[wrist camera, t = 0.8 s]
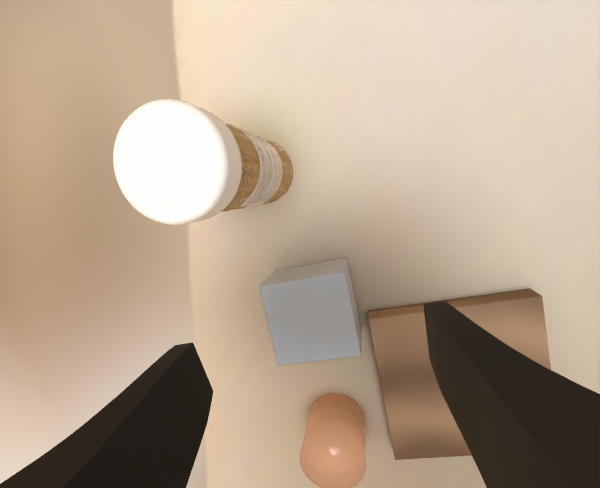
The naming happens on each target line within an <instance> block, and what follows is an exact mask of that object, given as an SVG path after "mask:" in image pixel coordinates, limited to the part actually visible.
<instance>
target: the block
mask: <svg viewBox="0 0 600 488" xmlns="http://www.w3.org/2000/svg"><path fill="white" fill-rule="evenodd" d="M259 287H260V291H261V295H262V300H263V304H264V308H265V312H266V317H267V321H268V325H269V329H270V334H271V338H272V342H273V346H274V351H275V355H276V359H277V363H278V366H280V365H289V364H297V363H306V362H314V361H322V360H331V359H339V358H348V357H356V356H361V325H360V320H359V315H358V310H357V305H356V300H355V295H354V290H353V285H352V280H351V275H350V270H349V265H348V260H347V258H341V259H335V260H330V261H324V262H318V263H313V264H307V265H301V266H295V267H290V268H284V269H278V270H275V271H274V272H273V273H272V274H271V275H270V276H269V277H268V278H267V279H266V280H265V281H264V282H263V283H262V284H261V285H260V286H259Z"/></svg>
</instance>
